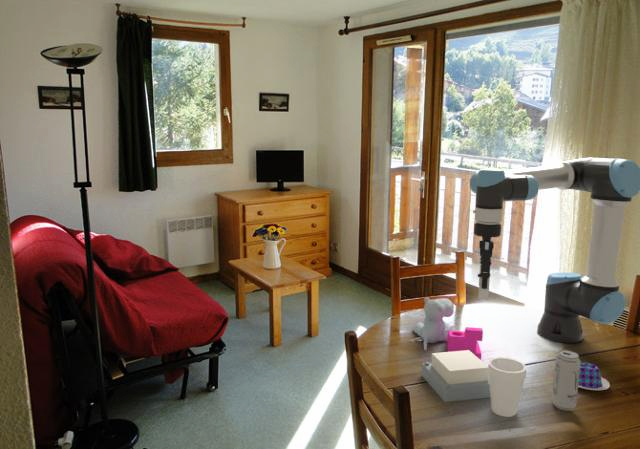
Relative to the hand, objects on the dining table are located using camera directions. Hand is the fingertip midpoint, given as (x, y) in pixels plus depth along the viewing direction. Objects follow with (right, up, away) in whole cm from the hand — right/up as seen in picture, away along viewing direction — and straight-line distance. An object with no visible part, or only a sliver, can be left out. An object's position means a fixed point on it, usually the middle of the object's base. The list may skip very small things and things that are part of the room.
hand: (483, 292), depth 155 cm
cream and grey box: (-8, -27, -3) cm, 28 cm away
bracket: (0, -23, +21) cm, 31 cm away
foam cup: (0, -30, -17) cm, 34 cm away
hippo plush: (-9, -21, +31) cm, 39 cm away
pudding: (+31, -27, 0) cm, 41 cm away
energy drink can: (+17, -29, -14) cm, 37 cm away
